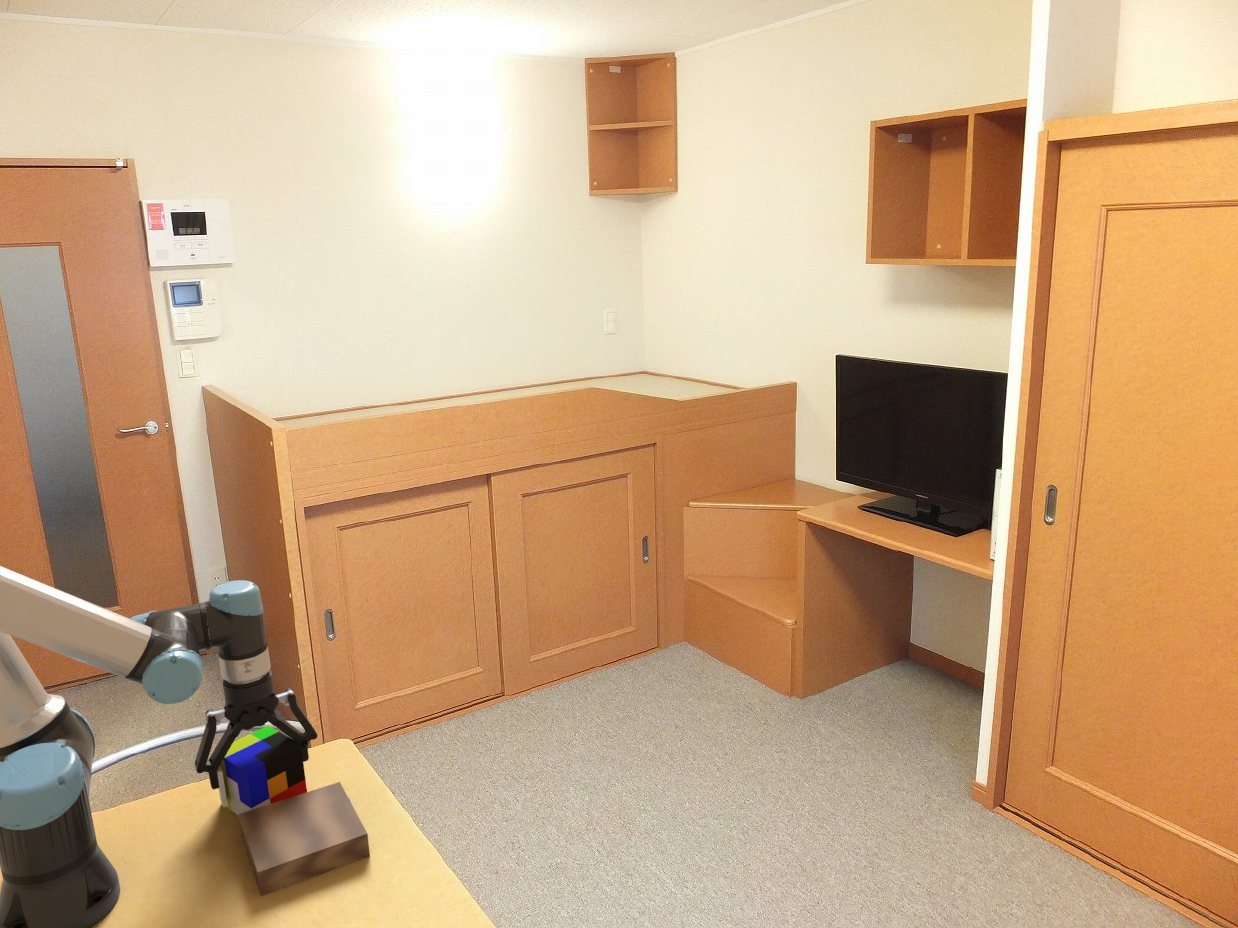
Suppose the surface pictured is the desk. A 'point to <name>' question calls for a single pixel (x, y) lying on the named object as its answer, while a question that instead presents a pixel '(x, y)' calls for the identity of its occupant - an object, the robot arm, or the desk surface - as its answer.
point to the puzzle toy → (262, 770)
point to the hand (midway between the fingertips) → (263, 790)
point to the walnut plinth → (302, 837)
